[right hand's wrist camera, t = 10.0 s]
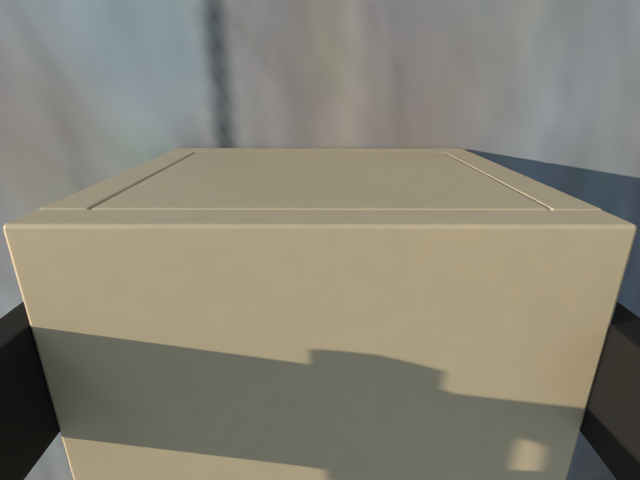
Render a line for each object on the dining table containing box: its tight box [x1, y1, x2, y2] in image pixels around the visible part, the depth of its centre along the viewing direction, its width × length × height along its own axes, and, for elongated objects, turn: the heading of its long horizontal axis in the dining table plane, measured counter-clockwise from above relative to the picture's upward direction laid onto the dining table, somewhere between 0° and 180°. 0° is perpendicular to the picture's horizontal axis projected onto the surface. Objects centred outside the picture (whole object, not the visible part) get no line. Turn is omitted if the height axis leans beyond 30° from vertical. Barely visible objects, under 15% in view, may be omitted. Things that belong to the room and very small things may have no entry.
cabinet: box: [3, 148, 637, 480], centre depth 16 cm, size 20×12×10 cm, turn 0°
